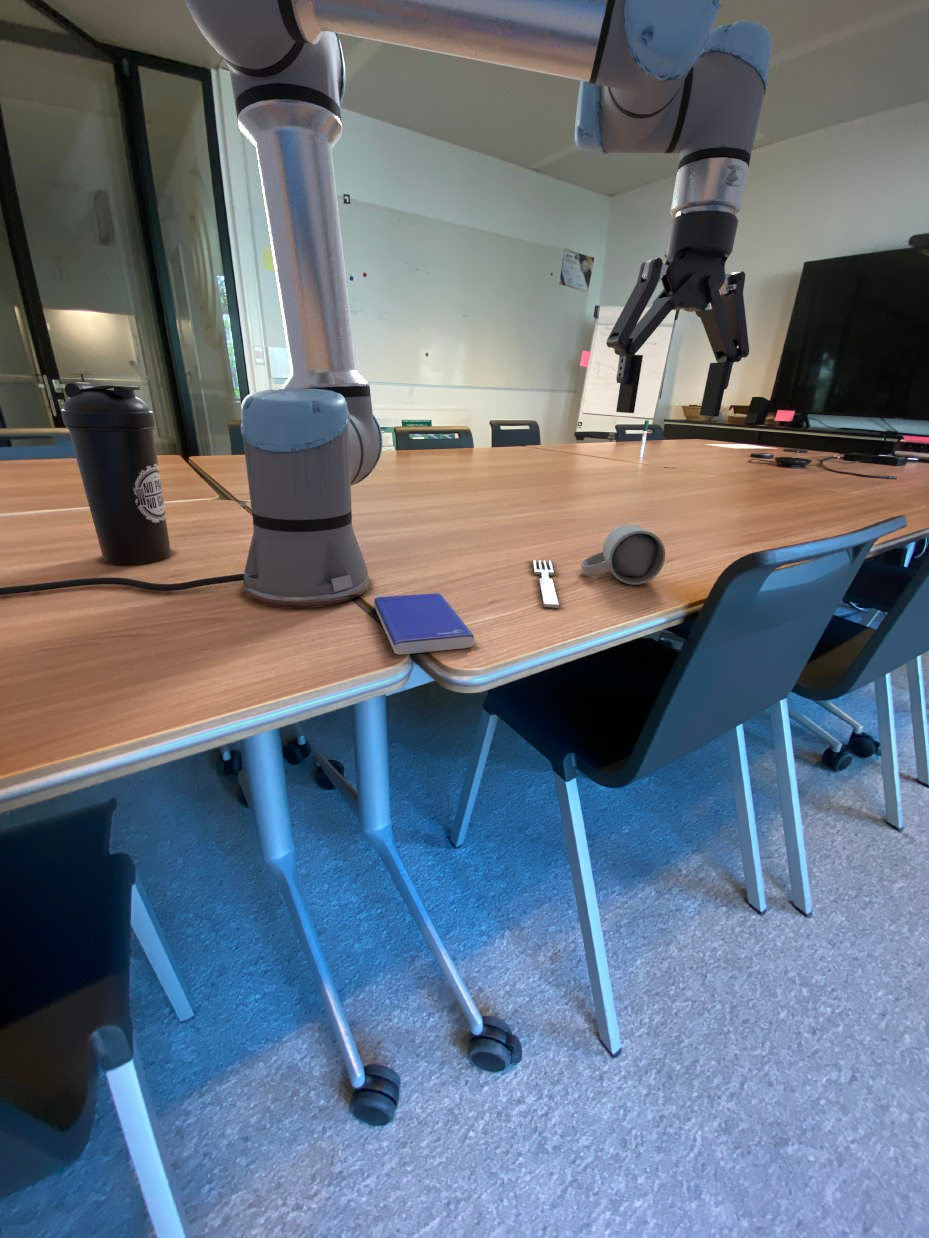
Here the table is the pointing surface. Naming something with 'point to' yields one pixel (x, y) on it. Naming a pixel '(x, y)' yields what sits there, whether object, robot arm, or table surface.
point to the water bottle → (118, 471)
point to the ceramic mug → (628, 556)
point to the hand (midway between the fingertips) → (668, 414)
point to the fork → (546, 584)
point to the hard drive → (422, 624)
